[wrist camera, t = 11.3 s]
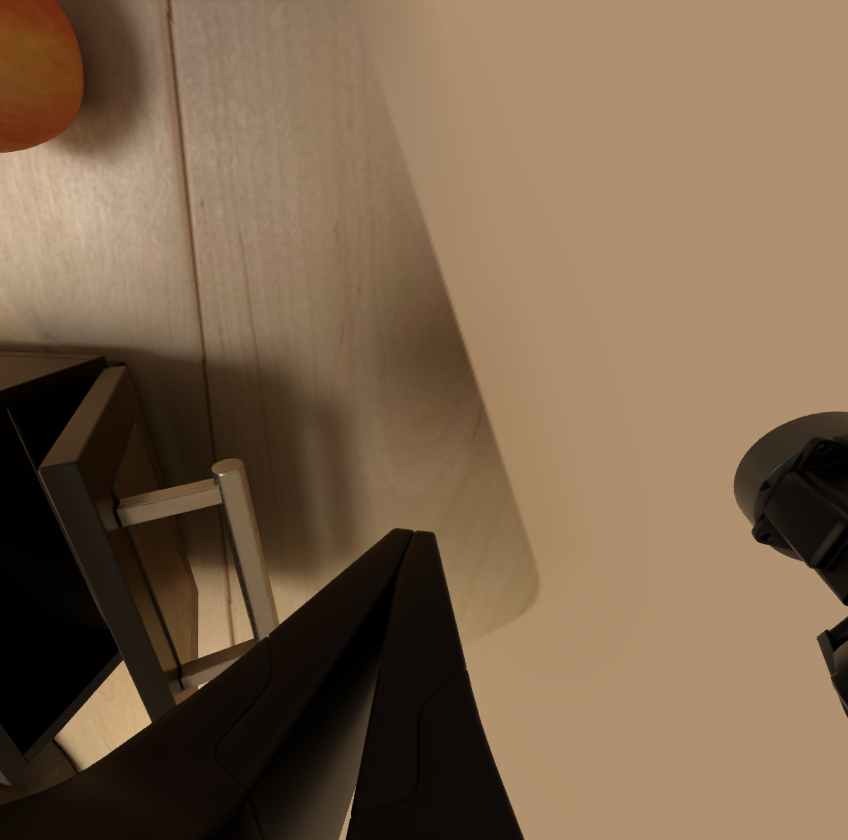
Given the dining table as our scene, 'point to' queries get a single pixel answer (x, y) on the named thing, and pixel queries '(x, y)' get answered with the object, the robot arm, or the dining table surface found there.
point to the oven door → (149, 542)
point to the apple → (37, 73)
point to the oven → (42, 565)
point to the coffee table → (39, 775)
